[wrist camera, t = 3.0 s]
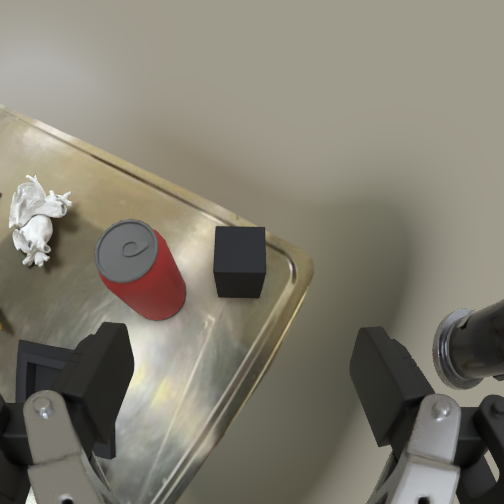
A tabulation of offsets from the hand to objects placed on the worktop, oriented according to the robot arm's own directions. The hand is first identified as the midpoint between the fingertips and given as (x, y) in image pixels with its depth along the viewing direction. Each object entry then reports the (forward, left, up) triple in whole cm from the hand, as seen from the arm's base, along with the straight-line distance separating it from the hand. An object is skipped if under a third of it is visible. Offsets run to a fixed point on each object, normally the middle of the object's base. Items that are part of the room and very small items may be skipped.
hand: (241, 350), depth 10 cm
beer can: (+12, -3, -23) cm, 26 cm away
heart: (+32, 0, -23) cm, 40 cm away
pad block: (+5, -9, -23) cm, 25 cm away
